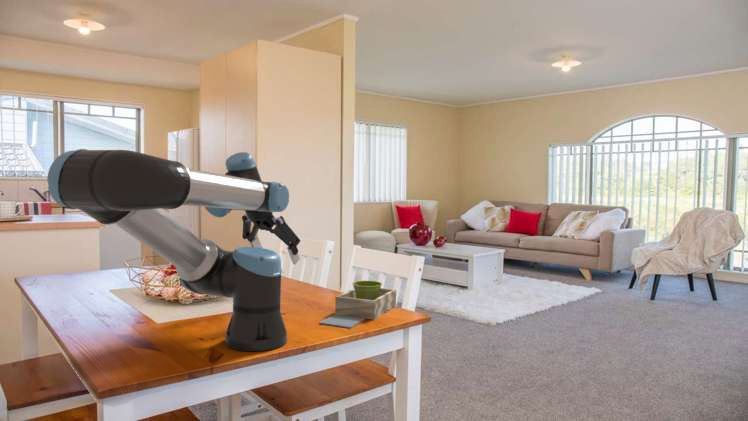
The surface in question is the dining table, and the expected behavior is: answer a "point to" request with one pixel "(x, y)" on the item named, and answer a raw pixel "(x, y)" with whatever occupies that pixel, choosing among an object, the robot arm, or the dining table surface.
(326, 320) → the mat
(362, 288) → the plant pot
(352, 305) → the frame
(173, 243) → the robot arm
